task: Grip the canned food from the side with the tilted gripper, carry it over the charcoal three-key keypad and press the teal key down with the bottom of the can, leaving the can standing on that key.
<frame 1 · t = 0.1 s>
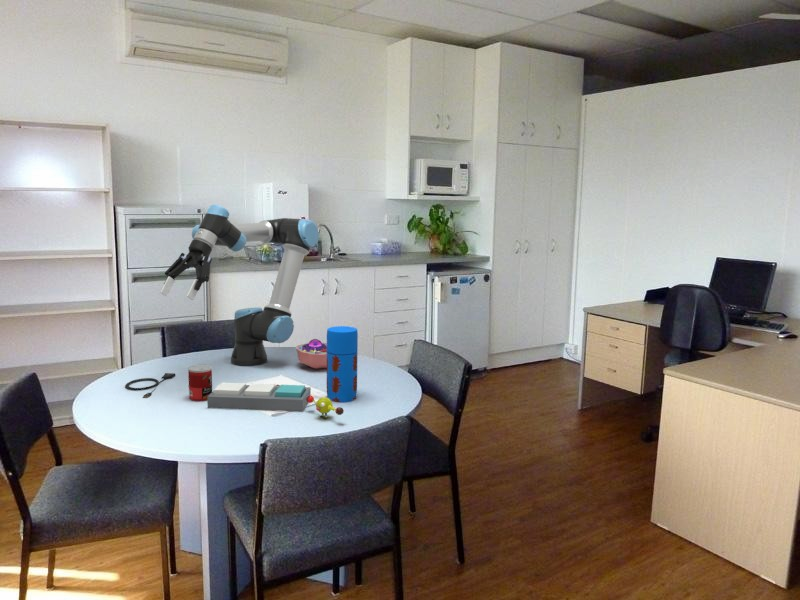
hand: (176, 296, 219), 36 cm above the table, tool tilted 35°, fingers open, 13 cm apart
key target: (290, 393, 218), point 4 cm above the table, slide at 0.0 cm
keypad frame: (260, 402, 219), on the table
canned food: (200, 398, 223), on the table
thermos: (341, 398, 227), on the table
toy figure: (323, 418, 206), on the table
cable: (144, 387, 235), on the table
key near: (230, 391, 219), point 4 cm above the table, slide at 0.0 cm
cell model: (316, 367, 266), on the table
key middle: (260, 392, 218), point 4 cm above the table, slide at 0.0 cm
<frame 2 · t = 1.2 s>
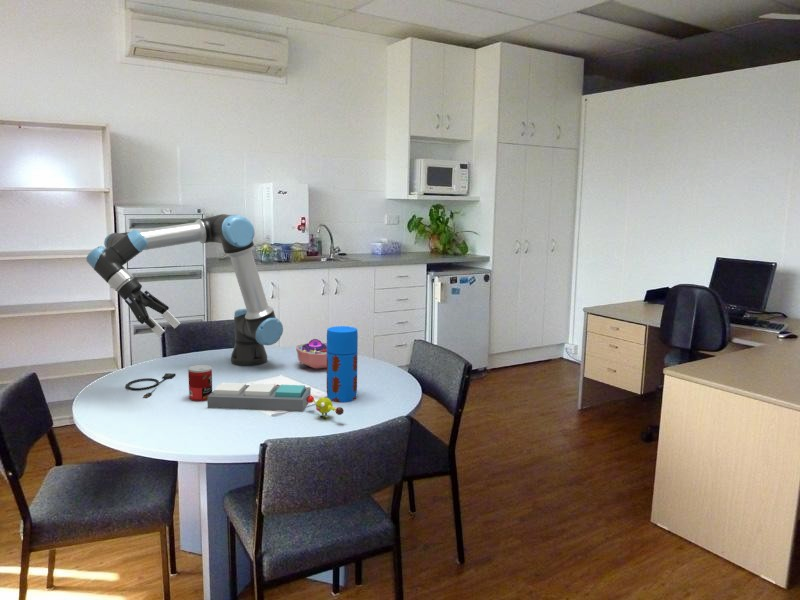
hand: (170, 329, 219), 24 cm above the table, tool tilted 45°, fingers open, 13 cm apart
nothing on the table moved.
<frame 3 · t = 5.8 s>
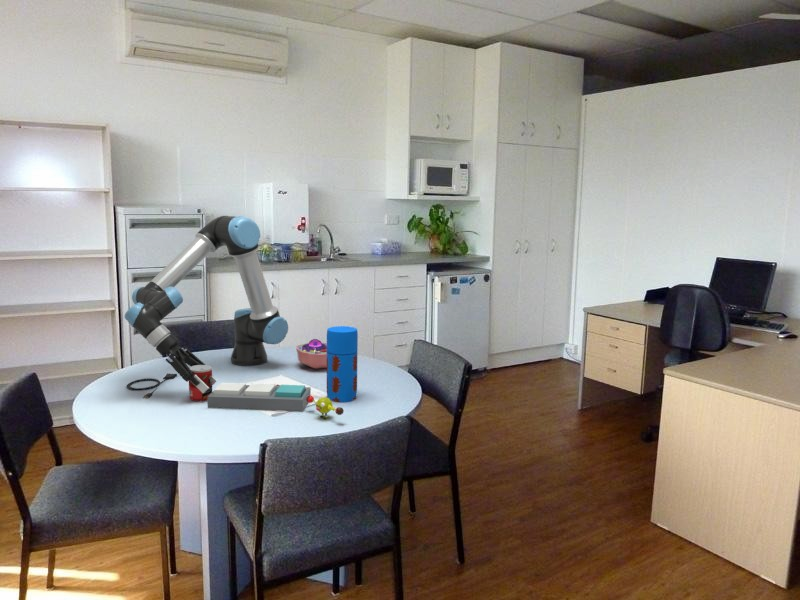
hand: (210, 387, 222), 4 cm above the table, tool tilted 45°, fingers closed on canned food, 8 cm apart
canned food: (201, 398, 223), on the table, touching gripper
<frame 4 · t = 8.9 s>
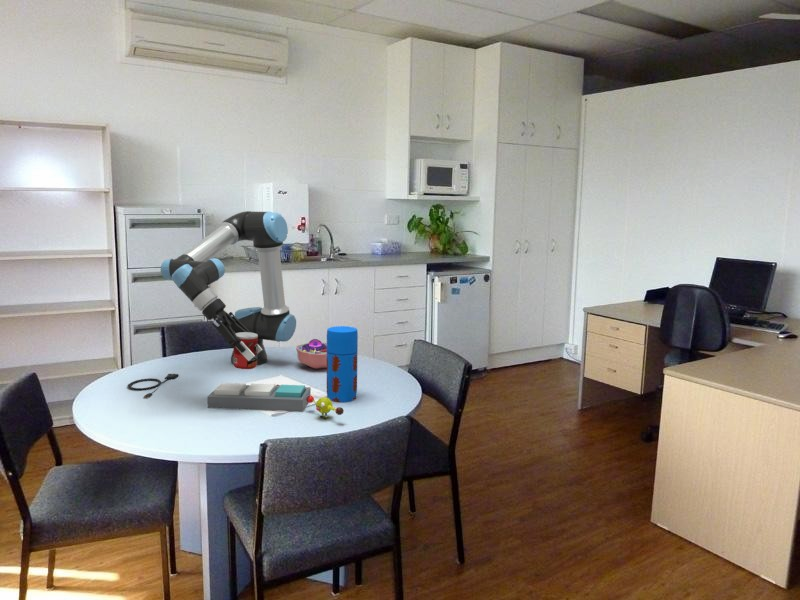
hand: (255, 355, 214), 18 cm above the table, tool tilted 45°, fingers closed on canned food, 8 cm apart
canned food: (245, 366, 215), point 13 cm above the table, touching gripper
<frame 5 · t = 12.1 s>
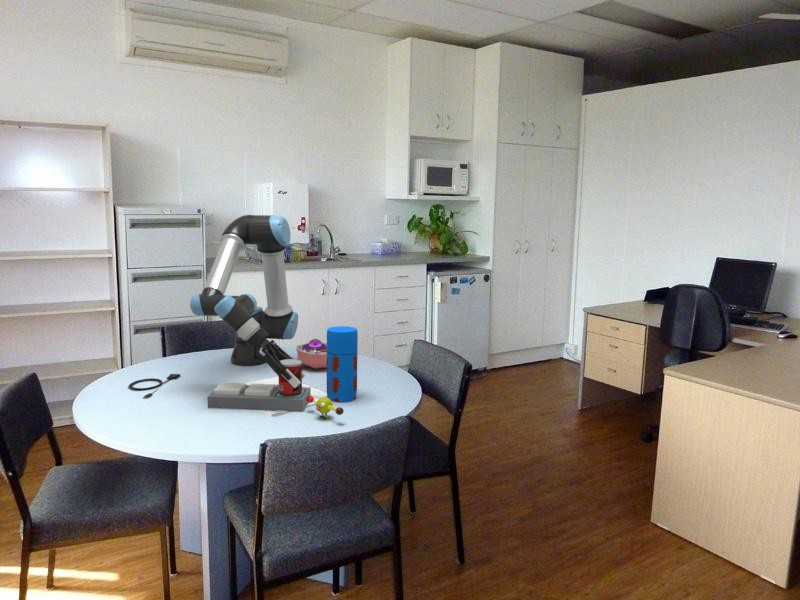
hand: (300, 381, 217), 8 cm above the table, tool tilted 45°, fingers closed on canned food, 8 cm apart
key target: (290, 397, 218), point 2 cm above the table, slide at 1.5 cm, touching canned food
canned food: (290, 393, 218), point 4 cm above the table, touching gripper, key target
when the fingers open (8 cm above the table, at t = 12.2 s): canned food stays where it is, resting on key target.
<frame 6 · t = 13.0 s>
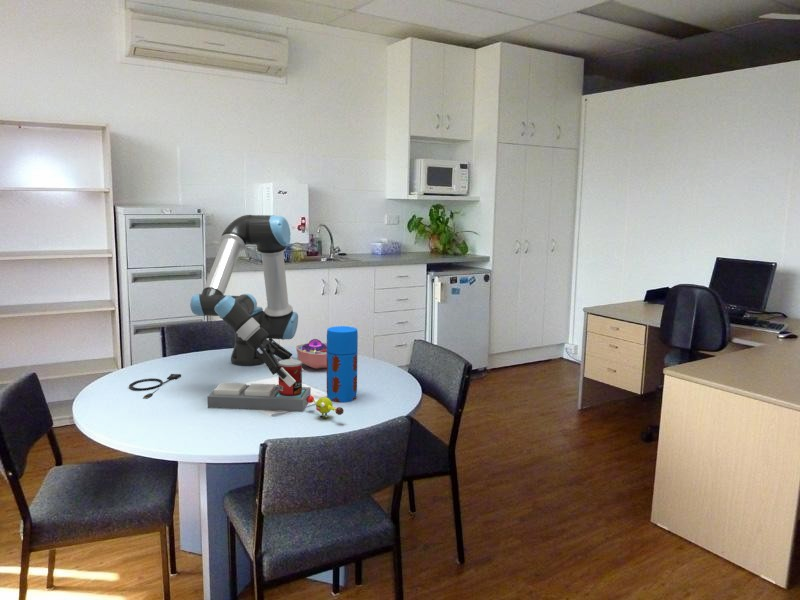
hand: (297, 378, 217), 9 cm above the table, tool tilted 45°, fingers open, 13 cm apart
canned food: (290, 393, 218), point 4 cm above the table, touching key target
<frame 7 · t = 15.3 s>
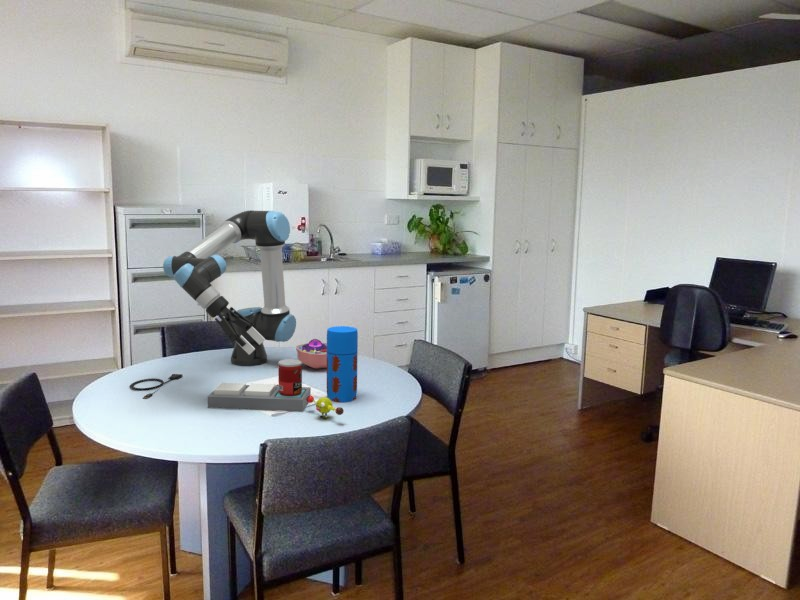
hand: (257, 347, 217), 20 cm above the table, tool tilted 45°, fingers open, 13 cm apart
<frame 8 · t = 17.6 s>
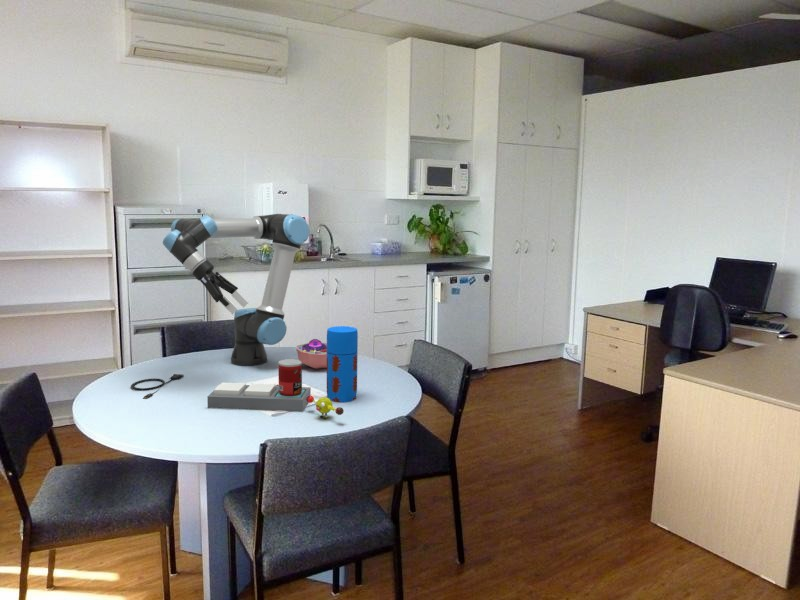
hand: (240, 308, 232), 30 cm above the table, tool tilted 45°, fingers open, 13 cm apart
at the end: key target slide at 1.5 cm; key middle slide at 0.0 cm; canned food tilted 0° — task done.
